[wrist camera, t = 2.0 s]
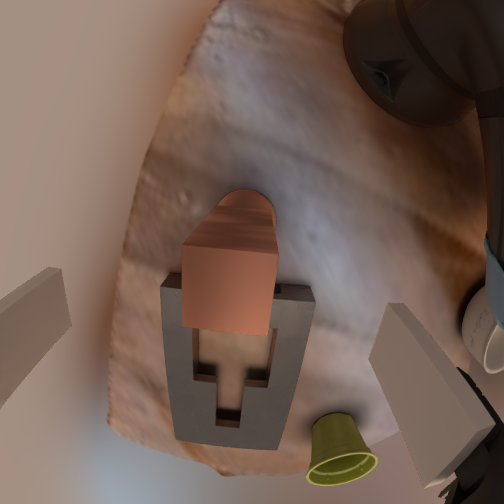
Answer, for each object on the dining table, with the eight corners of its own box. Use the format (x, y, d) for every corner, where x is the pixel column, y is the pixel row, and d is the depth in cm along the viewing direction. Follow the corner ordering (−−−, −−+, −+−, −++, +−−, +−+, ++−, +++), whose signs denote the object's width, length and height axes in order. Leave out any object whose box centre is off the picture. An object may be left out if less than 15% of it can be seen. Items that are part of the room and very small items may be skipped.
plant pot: (359, 395, 34) (375, 444, 26) (366, 429, 36) (379, 472, 28) (293, 416, 35) (297, 467, 27) (309, 447, 38) (315, 491, 30)
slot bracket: (310, 286, 29) (315, 302, 25) (276, 432, 36) (277, 450, 33) (170, 272, 29) (160, 286, 25) (180, 422, 36) (175, 439, 33)
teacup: (451, 290, 29) (488, 323, 21) (507, 257, 27) (545, 280, 19) (451, 367, 33) (475, 402, 25) (502, 334, 31) (529, 362, 23)
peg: (278, 192, 26) (300, 237, 12) (272, 251, 28) (282, 350, 13) (216, 186, 26) (163, 224, 12) (212, 245, 28) (167, 337, 13)
